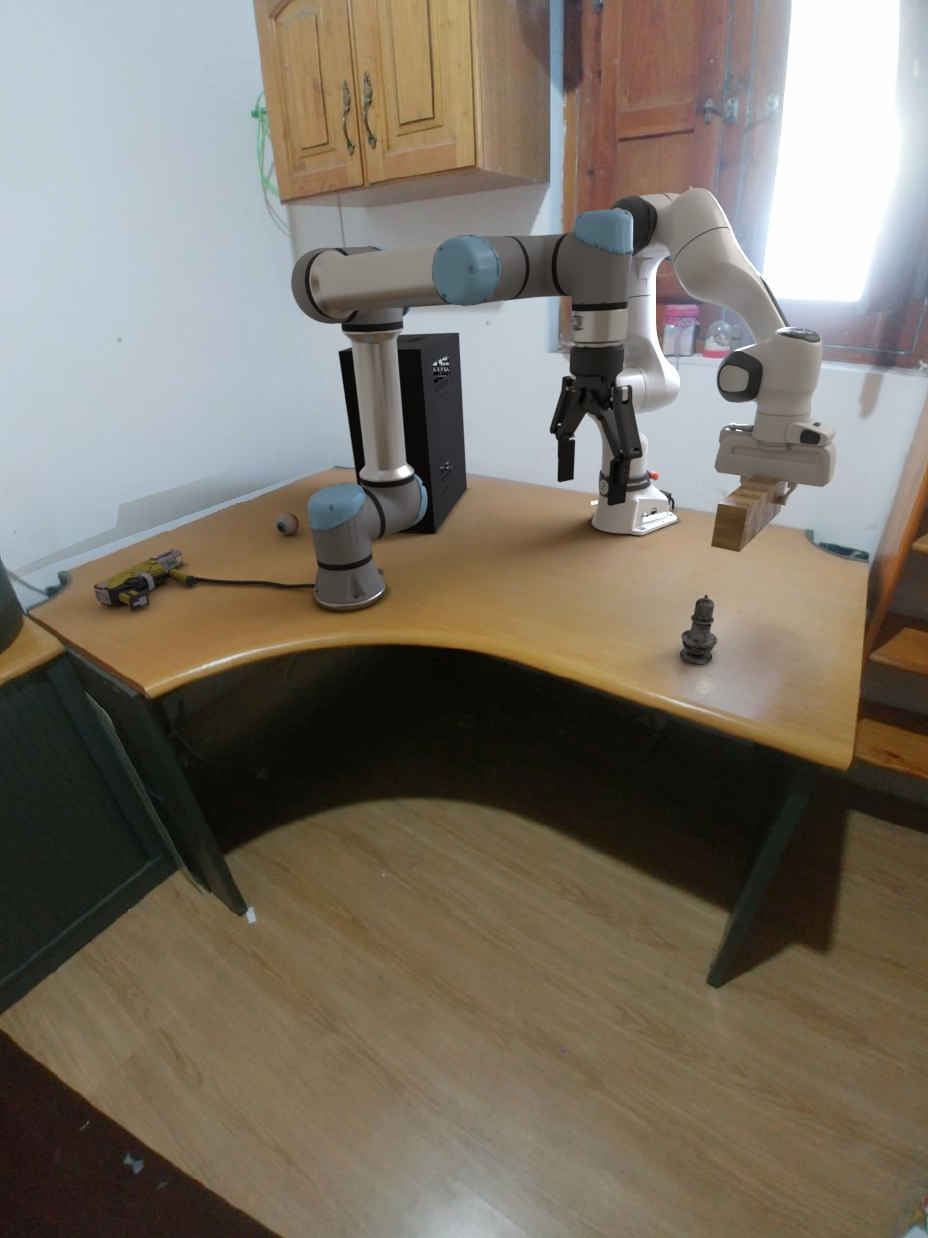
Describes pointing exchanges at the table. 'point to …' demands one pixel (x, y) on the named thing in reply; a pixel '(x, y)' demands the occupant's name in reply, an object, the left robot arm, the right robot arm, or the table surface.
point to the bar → (746, 512)
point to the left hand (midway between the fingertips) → (589, 491)
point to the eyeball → (287, 523)
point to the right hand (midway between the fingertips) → (764, 501)
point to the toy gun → (141, 581)
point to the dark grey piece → (699, 634)
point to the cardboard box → (422, 419)
